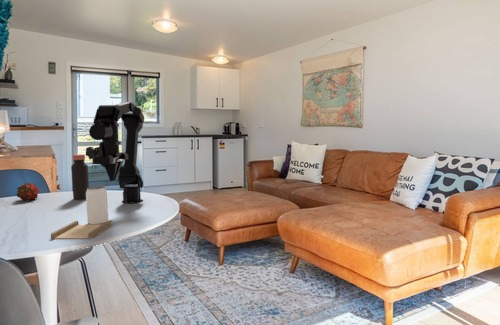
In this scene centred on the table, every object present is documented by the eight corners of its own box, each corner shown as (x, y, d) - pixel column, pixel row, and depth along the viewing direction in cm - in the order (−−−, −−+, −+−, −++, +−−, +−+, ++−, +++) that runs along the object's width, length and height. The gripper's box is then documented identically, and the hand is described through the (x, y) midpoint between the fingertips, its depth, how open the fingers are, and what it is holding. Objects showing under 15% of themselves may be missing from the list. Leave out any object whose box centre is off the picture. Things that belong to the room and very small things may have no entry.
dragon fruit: (25, 206, 156) (28, 205, 167) (43, 193, 160) (44, 192, 170) (11, 191, 154) (14, 191, 165) (28, 178, 158) (31, 179, 168)
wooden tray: (75, 225, 118) (75, 221, 118) (111, 225, 117) (111, 220, 117) (51, 238, 104) (50, 233, 104) (91, 238, 103) (91, 233, 103)
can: (112, 220, 123) (110, 186, 122) (98, 225, 117) (96, 189, 116) (97, 219, 125) (95, 185, 124) (83, 224, 119) (80, 188, 118)
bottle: (80, 196, 168) (78, 154, 166) (93, 197, 166) (90, 154, 164) (69, 199, 161) (66, 155, 159) (82, 200, 159) (79, 155, 157)
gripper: (99, 138, 142) (102, 177, 144) (76, 140, 123) (79, 185, 125) (127, 138, 142) (129, 177, 143) (108, 140, 123) (110, 184, 125)
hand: (112, 180), depth 134 cm, fingers closed
